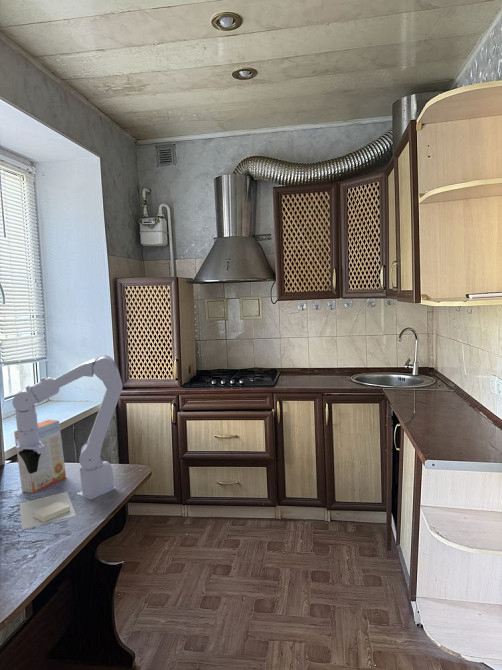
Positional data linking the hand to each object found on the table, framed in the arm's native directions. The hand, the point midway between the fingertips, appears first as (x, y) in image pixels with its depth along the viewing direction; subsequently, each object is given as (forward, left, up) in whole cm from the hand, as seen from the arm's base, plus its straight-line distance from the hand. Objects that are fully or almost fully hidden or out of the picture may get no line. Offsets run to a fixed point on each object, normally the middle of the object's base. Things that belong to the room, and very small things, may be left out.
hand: (32, 472), depth 148 cm
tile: (+2, +10, -9) cm, 13 cm away
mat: (+1, +8, -10) cm, 13 cm away
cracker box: (-9, -12, -10) cm, 18 cm away
